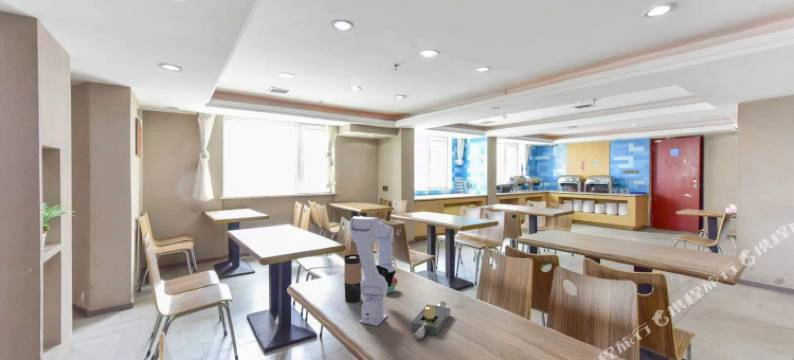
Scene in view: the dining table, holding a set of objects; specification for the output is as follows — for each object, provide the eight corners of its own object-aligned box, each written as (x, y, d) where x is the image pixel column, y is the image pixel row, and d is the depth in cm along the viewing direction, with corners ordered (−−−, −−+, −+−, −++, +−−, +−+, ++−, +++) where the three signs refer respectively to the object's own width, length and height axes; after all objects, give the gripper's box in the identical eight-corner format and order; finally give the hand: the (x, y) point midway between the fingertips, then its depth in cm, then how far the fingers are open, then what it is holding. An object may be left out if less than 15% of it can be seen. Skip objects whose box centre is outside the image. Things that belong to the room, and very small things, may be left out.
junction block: (431, 343, 115) (431, 335, 115) (404, 337, 119) (404, 329, 119) (454, 310, 143) (454, 303, 142) (431, 306, 147) (431, 299, 147)
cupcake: (390, 295, 159) (390, 270, 159) (376, 291, 164) (376, 267, 164) (401, 290, 166) (400, 266, 166) (387, 286, 171) (387, 263, 171)
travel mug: (362, 297, 157) (362, 254, 156) (359, 303, 150) (359, 258, 149) (346, 296, 158) (346, 254, 157) (342, 302, 150) (342, 258, 150)
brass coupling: (432, 329, 126) (433, 310, 125) (422, 327, 127) (422, 308, 127) (436, 324, 129) (436, 306, 129) (426, 322, 131) (426, 305, 131)
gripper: (399, 256, 142) (399, 288, 142) (388, 248, 155) (388, 277, 156) (384, 257, 139) (384, 290, 140) (373, 249, 153) (373, 279, 153)
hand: (385, 283), depth 148 cm, fingers open, 7 cm apart
